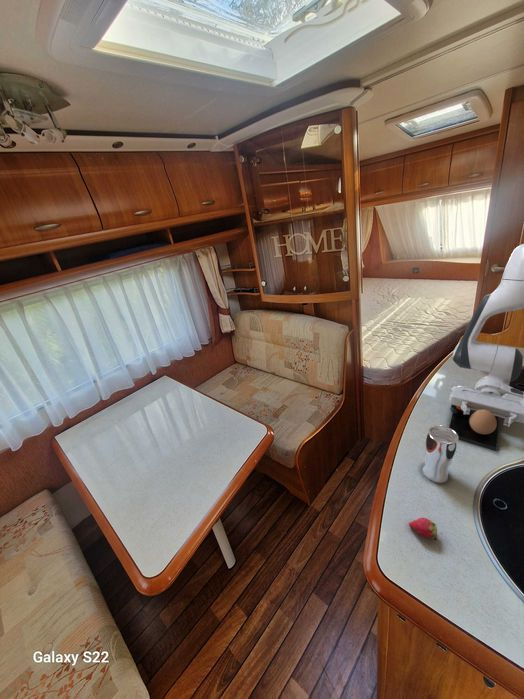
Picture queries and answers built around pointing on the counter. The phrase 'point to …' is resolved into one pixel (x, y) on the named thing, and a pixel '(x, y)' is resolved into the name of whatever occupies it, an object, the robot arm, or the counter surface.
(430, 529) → the fruit
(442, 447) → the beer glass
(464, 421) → the scale
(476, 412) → the egg
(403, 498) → the counter surface
